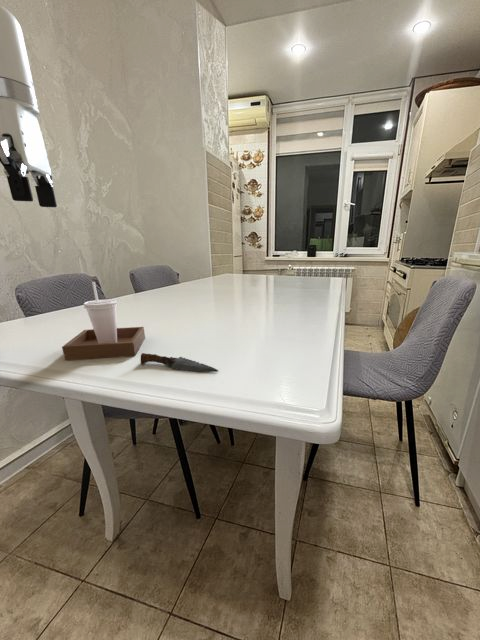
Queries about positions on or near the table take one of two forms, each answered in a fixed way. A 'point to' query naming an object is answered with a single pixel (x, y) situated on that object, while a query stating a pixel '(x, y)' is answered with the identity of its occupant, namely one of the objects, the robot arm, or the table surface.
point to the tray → (104, 344)
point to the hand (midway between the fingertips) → (36, 204)
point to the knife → (177, 363)
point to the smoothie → (103, 318)
